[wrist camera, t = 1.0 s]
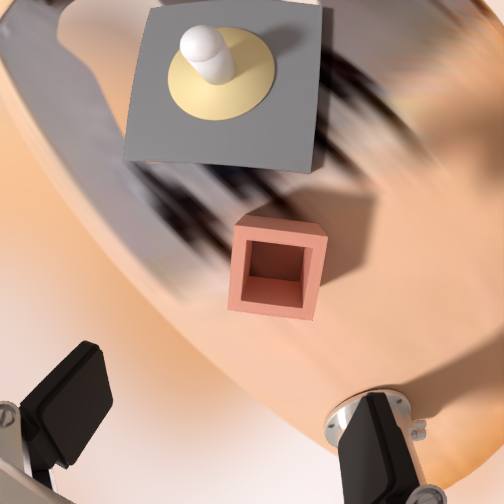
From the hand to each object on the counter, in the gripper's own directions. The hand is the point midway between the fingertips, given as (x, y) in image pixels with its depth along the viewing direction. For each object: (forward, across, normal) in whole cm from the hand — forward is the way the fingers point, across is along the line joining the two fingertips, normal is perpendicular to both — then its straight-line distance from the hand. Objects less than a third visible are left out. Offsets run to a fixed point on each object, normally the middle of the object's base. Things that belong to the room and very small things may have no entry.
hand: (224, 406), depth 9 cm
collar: (+20, -2, 0) cm, 20 cm away
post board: (+20, +6, -17) cm, 27 cm away
